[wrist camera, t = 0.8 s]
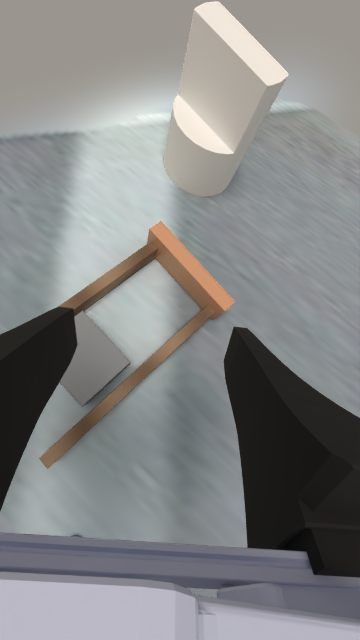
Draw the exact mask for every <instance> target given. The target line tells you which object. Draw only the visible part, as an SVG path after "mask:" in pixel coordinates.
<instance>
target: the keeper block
mask: <svg viewBox="0 0 360 640" xmlns="http://www.w3.org/2000/svg"><path fill="white" fill-rule="evenodd" d="M74 319H75V327H76V335H77V343H78V345H77V348H76V351H75V353H74V356H73V358H72V360H71V363H70V365H69V366H68V368H67V370H66V372H65V373H64V375H63V377H62V378H61V380H60V383H61V384H62V385H63V387H64V388H65V389H66V390H67V391H68V392H69V393H70V394H71V395H72V396H73V397H74V399H75V400H76V401H77V402H78V403H79V404H80V405H81V406H84V405H85V404H87V403H88V402H89V401H90V400H91V399H92V398H93V397H94V396H95V395H97V394H98V393H99V392H100V391H101V390H102V389H103V388H104V387H105V386H106V385H107V384H109V383H110V382H111V381H112V380H113V379H114V378H115V377H116V376H117V375H118V374H119V373H121V372H122V371H123V370H124V369H125V368H126V367H127V366H128V365H129V364H130V361H129V360H128V359H127V358H126V357H125V356H124V355H123V353H122V352H121V351H120V350H119V349H118V348H117V347H116V346H115V345H114V344H113V343H112V342H111V341H110V339H109V338H108V337H107V336H106V335H105V334H104V333H103V332H102V331H101V330H100V329H99V328H98V327H97V325H96V324H95V323H94V322H93V321H92V320H91V319H90V318H89V317H88V316H87V315H86V314H85V312H84V311H81V312H80V313H79V314H78V315H76V316H75V317H74Z"/></svg>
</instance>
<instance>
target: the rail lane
mask: <svg viewBox="0 0 360 640" xmlns="http://www.w3.org/2000/svg"><path fill="white" fill-rule="evenodd" d="M155 258H156V259H157V260H158V261H159V262H160V264H161V265H162V266H163V267H164V268H165V269H166V270H167V271H168V272H169V273H170V275H171V276H172V277H173V278H174V279H175V280H176V281H177V282H178V283H179V284H180V286H181V287H182V288H183V289H184V290H185V291H186V292H187V293H188V294H189V295H190V296H191V298H192V299H193V300H194V301H195V302H196V303H197V304H198V305H199V306H200V307H201V309H202V311H201V312H200V313H199V314H197V315H196V316H195V317H194V318H193V319H192V320H191V321H190V322H189V323H188V324H186V325H185V326H184V327H183V328H182V329H181V330H180V331H179V332H178V333H177V334H175V335H174V336H173V337H172V338H171V339H170V340H169V341H168V342H167V343H166V344H164V345H163V346H162V347H161V348H160V349H159V350H158V351H157V352H156V353H155V354H153V355H152V356H151V357H150V358H149V359H148V360H147V361H146V362H145V363H143V364H142V365H141V366H140V367H139V368H138V369H137V370H136V371H135V372H134V373H132V374H131V375H130V376H129V377H128V378H127V379H126V380H125V381H124V382H123V383H121V384H120V385H119V386H118V387H117V388H116V389H115V390H114V391H113V392H112V393H110V394H109V395H108V396H107V397H106V398H105V399H104V400H103V401H102V402H101V403H99V404H98V405H97V406H96V407H95V408H94V409H93V410H92V411H91V412H90V413H88V414H87V415H86V416H85V417H84V418H83V419H82V420H81V421H80V422H79V423H77V424H76V425H75V426H74V427H73V428H72V429H71V430H70V431H69V432H68V433H66V434H65V435H64V436H63V437H62V438H61V439H60V440H59V441H58V442H57V443H55V444H54V445H53V446H52V447H51V448H50V449H49V450H48V451H47V452H46V453H44V454H43V455H42V456H41V457H40V458H39V459H40V460H41V461H42V463H43V464H44V465H45V466H46V467H47V468H49V467H50V466H51V465H52V464H53V463H54V462H55V461H56V460H58V459H59V458H60V457H61V456H62V455H63V454H64V453H65V452H66V451H67V450H68V449H69V448H70V447H71V446H72V445H74V444H75V443H76V442H77V441H78V440H79V439H80V438H81V437H82V436H83V435H84V434H85V433H86V432H87V431H89V430H90V429H91V428H92V427H93V426H94V425H95V424H96V423H97V422H98V421H99V420H100V419H101V418H102V417H103V416H105V415H106V414H107V413H108V412H109V411H110V410H111V409H112V408H113V407H114V406H115V405H116V404H117V403H118V402H120V401H121V400H122V399H123V398H124V397H125V396H126V395H127V394H128V393H129V392H130V391H131V390H132V389H133V388H134V387H136V386H137V385H138V384H139V383H140V382H141V381H142V380H143V379H144V378H145V377H146V376H147V375H148V374H149V373H151V372H152V371H153V370H154V369H155V368H156V367H157V366H158V365H159V364H160V363H161V362H162V361H163V360H164V359H165V358H167V357H168V356H169V355H170V354H171V353H172V352H173V351H174V350H175V349H176V348H177V347H178V346H179V345H180V344H182V343H183V342H184V341H185V340H186V339H187V338H188V337H189V336H190V335H191V334H192V333H193V332H194V331H195V330H196V329H198V328H199V327H200V326H201V325H202V324H203V323H204V322H205V321H206V320H207V319H208V318H209V317H210V318H211V320H213V319H214V318H216V317H217V316H219V315H220V314H222V313H223V312H225V311H226V310H227V309H228V308H229V307H230V306H231V305H232V304H233V303H234V302H235V301H234V300H233V299H232V298H231V297H230V296H229V294H228V293H227V292H226V291H225V290H224V289H223V288H222V287H221V286H220V285H219V284H218V283H217V281H216V280H215V279H214V278H213V277H212V276H211V275H210V274H209V273H208V272H207V271H206V269H205V268H204V267H203V266H202V265H201V264H200V263H199V262H198V261H197V260H196V259H195V257H194V256H193V255H192V254H191V253H190V252H189V251H188V250H187V249H186V248H185V247H184V245H183V244H182V243H181V242H180V241H179V240H178V239H177V238H176V237H175V236H174V235H173V234H172V232H171V231H170V230H169V229H168V228H167V227H166V226H165V225H164V224H163V223H162V222H161V221H160V222H159V223H158V224H156V225H155V226H153V227H152V228H150V229H149V235H148V241H147V245H145V246H144V247H143V248H141V249H140V250H138V251H137V252H135V253H134V254H133V255H131V256H130V257H128V258H127V259H125V260H124V261H123V262H121V263H120V264H118V265H117V266H116V267H114V268H113V269H111V270H110V271H108V272H107V273H106V274H104V275H103V276H101V277H100V278H98V279H97V280H96V281H94V282H93V283H91V284H90V285H89V286H87V287H86V288H84V289H83V290H81V291H80V292H79V293H77V294H76V295H74V296H73V297H72V298H70V299H69V300H67V301H66V302H64V303H63V304H62V305H60V306H59V307H67V308H73V310H74V317H75V316H76V315H78V314H79V313H80V312H81V311H84V310H86V309H87V308H88V307H90V306H91V305H93V304H94V303H95V302H97V301H98V300H99V299H101V298H102V297H103V296H105V295H106V294H107V293H109V292H110V291H111V290H113V289H114V288H116V287H117V286H118V285H120V284H121V283H122V282H124V281H125V280H126V279H128V278H129V277H130V276H132V275H133V274H134V273H136V272H137V271H139V270H140V269H141V268H143V267H144V266H145V265H147V264H148V263H149V262H151V261H152V260H153V259H155Z"/></svg>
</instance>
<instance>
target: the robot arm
mask: <svg viewBox="0 0 360 640" xmlns="http://www.w3.org/2000/svg"><path fill="white" fill-rule="evenodd" d="M77 345H78V343H77V335H76V327H75V319H74V310H73V308H67V307H57V308H54V309H52V310H50V311H48V312H46V313H44V314H42V315H40V316H38V317H36V318H34V319H32V320H30V321H28V322H26V323H24V324H22V325H20V326H18V327H16V328H14V329H12V330H9V331H7V332H5V333H3V334H1V335H0V510H1V508H2V505H3V502H4V499H5V497H6V494H7V491H8V489H9V486H10V484H11V481H12V479H13V476H14V474H15V471H16V469H17V466H18V464H19V461H20V459H21V457H22V454H23V452H24V450H25V448H26V445H27V443H28V441H29V438H30V436H31V434H32V432H33V430H34V427H35V425H36V423H37V421H38V419H39V416H40V415H41V413H42V411H43V409H44V407H45V405H46V404H47V402H48V400H49V399H50V397H51V395H52V394H53V392H54V390H55V389H56V387H57V385H58V384H59V382H60V380H61V378H62V377H63V375H64V373H65V372H66V370H67V368H68V366H69V365H70V363H71V360H72V358H73V356H74V353H75V351H76V348H77ZM224 369H225V379H226V384H227V389H228V393H229V397H230V402H231V406H232V410H233V415H234V419H235V423H236V428H237V434H238V442H239V450H240V458H241V467H242V477H243V488H244V499H245V512H246V528H247V544H248V548H239V547H223V546H207V545H191V544H175V543H159V542H143V541H128V540H112V539H96V538H80V537H78V536H73V537H64V536H48V535H32V534H16V533H0V640H360V418H359V417H357V416H355V415H354V414H352V413H350V412H349V411H347V410H345V409H344V408H342V407H340V406H339V405H337V404H336V403H334V402H333V401H331V400H330V399H328V398H327V397H325V396H324V395H322V394H321V393H319V392H318V391H317V390H315V389H314V388H312V387H311V386H310V385H309V384H307V383H306V382H305V381H303V380H302V379H301V378H299V377H298V376H297V375H296V374H295V373H293V372H292V371H291V370H290V369H289V368H288V367H287V366H285V365H284V364H283V363H282V362H281V361H280V360H279V359H278V358H277V357H276V356H275V355H274V354H273V353H271V352H270V351H269V350H268V349H267V348H266V347H265V346H264V345H263V343H262V342H261V341H260V340H259V339H258V338H257V337H256V336H255V335H254V334H253V333H252V332H251V331H250V330H248V329H247V328H241V327H234V328H233V331H232V335H231V338H230V341H229V345H228V348H227V352H226V355H225V358H224ZM184 587H186V588H184ZM187 588H204V589H219V590H218V592H217V598H213V597H206V596H200V595H193V594H192V593H191V591H190V590H189V589H187Z"/></svg>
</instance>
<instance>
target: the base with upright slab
mask: <svg viewBox="0 0 360 640" xmlns="http://www.w3.org/2000/svg"><path fill="white" fill-rule="evenodd" d="M287 76H288V73H287V72H286V71H285V70H284V68H283V67H282V66H281V65H280V64H279V63H278V62H277V61H276V60H275V59H274V58H273V57H272V56H271V55H270V54H269V53H268V52H267V51H266V50H265V49H264V48H263V47H262V46H261V45H260V44H259V43H258V41H256V39H255V38H254V37H253V36H252V35H251V34H250V33H249V32H248V31H247V30H246V29H245V28H244V27H243V26H242V25H241V24H240V23H239V22H238V21H237V20H236V19H235V18H234V17H233V16H232V15H231V14H230V12H229V11H227V9H226V8H225V7H224V6H223V5H222V4H221V3H220V2H217V1H214V2H208V3H204V4H202V5H200V6H198V7H196V8H195V9H194V13H193V19H192V24H191V29H190V34H189V39H188V45H187V50H186V55H185V60H184V65H183V70H182V76H181V81H180V86H179V91H178V95H177V96H176V98H175V100H174V105H173V109H172V115H171V120H170V125H169V131H168V136H167V142H166V147H165V153H164V158H163V160H164V167H165V170H166V172H167V174H168V176H169V177H170V179H171V180H172V181H173V182H174V183H175V184H176V185H177V186H178V187H179V188H181V189H182V190H184V191H186V192H188V193H190V194H193V195H196V196H204V197H209V196H215V195H217V194H219V193H221V192H223V191H224V190H225V189H226V188H227V187H228V185H229V184H230V182H231V180H232V178H233V176H234V174H235V173H236V171H237V169H238V167H239V165H240V163H241V161H242V160H243V158H244V156H245V154H246V152H247V150H248V149H249V147H250V145H251V143H252V141H253V139H254V137H255V136H256V134H257V132H258V130H259V128H260V126H261V124H262V123H263V121H264V119H265V117H266V115H267V113H268V112H269V110H270V108H271V106H272V104H273V102H274V100H275V99H276V97H277V95H278V93H279V91H280V89H281V87H282V86H283V84H284V82H285V80H286V78H287Z"/></svg>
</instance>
